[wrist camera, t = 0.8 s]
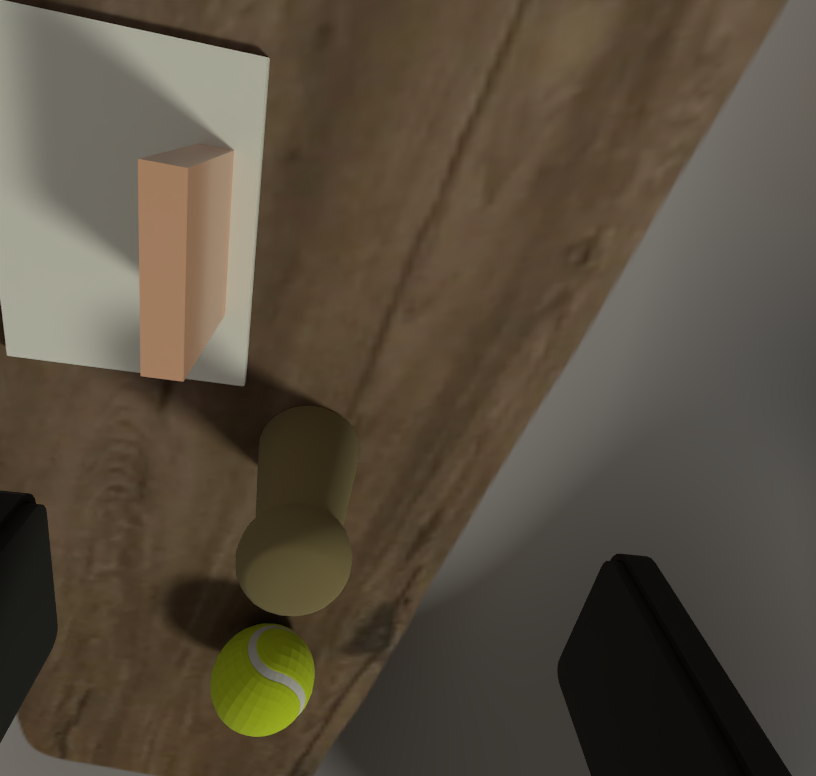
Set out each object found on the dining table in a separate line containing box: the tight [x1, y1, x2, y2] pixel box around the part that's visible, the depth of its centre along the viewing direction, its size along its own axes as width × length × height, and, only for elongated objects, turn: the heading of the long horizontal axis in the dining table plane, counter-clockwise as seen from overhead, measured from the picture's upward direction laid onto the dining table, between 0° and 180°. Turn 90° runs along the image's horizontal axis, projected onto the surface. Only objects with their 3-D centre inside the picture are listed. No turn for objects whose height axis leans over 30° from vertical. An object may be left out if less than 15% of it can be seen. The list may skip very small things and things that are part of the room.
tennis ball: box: [210, 623, 315, 737], centre depth 38 cm, size 7×7×7 cm
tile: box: [138, 144, 234, 382], centre depth 24 cm, size 8×2×8 cm, turn 169°
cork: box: [236, 405, 360, 616], centre depth 29 cm, size 6×6×11 cm
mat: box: [0, 0, 270, 386], centre depth 27 cm, size 16×12×1 cm
